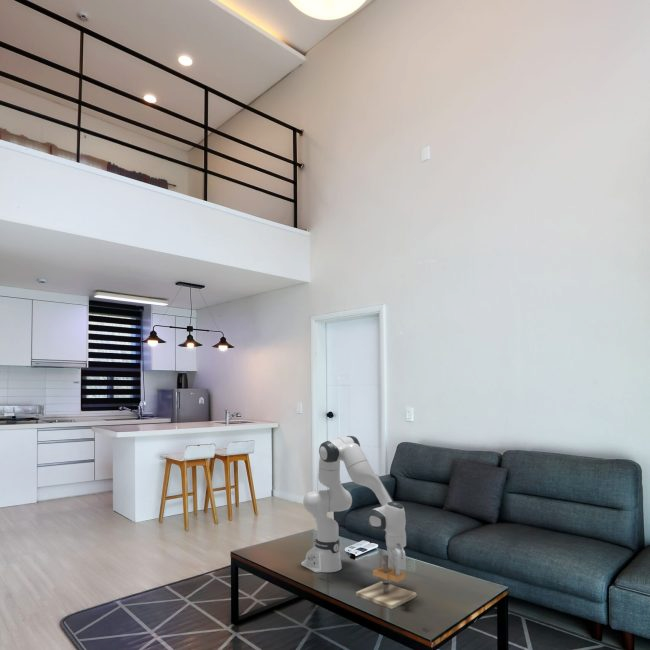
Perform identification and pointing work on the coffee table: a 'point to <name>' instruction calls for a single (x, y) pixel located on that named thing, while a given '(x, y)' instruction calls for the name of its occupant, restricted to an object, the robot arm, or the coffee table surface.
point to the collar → (388, 574)
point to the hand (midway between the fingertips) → (396, 573)
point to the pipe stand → (386, 592)
